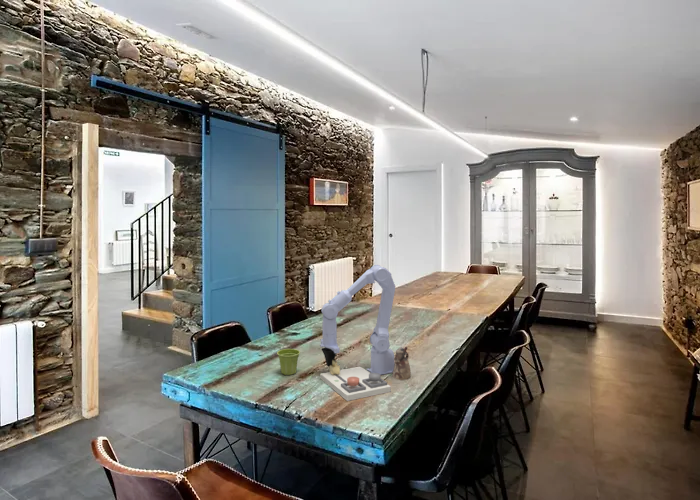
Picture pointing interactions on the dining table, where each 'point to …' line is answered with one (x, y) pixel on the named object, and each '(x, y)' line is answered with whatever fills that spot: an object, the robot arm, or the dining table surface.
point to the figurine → (401, 365)
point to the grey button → (374, 377)
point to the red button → (353, 381)
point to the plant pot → (288, 360)
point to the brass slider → (334, 367)
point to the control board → (354, 392)
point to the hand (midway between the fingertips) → (329, 365)
